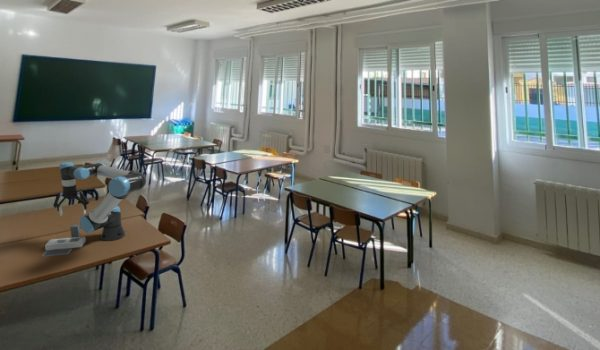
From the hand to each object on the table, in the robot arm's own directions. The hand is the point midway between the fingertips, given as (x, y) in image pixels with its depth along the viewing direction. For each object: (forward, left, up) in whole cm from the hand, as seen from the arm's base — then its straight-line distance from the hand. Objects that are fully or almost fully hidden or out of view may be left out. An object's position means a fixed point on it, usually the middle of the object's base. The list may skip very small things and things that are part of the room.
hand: (73, 214), depth 216 cm
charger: (0, 0, -18) cm, 18 cm away
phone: (+5, +20, -19) cm, 28 cm away
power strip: (+3, +10, -18) cm, 21 cm away
